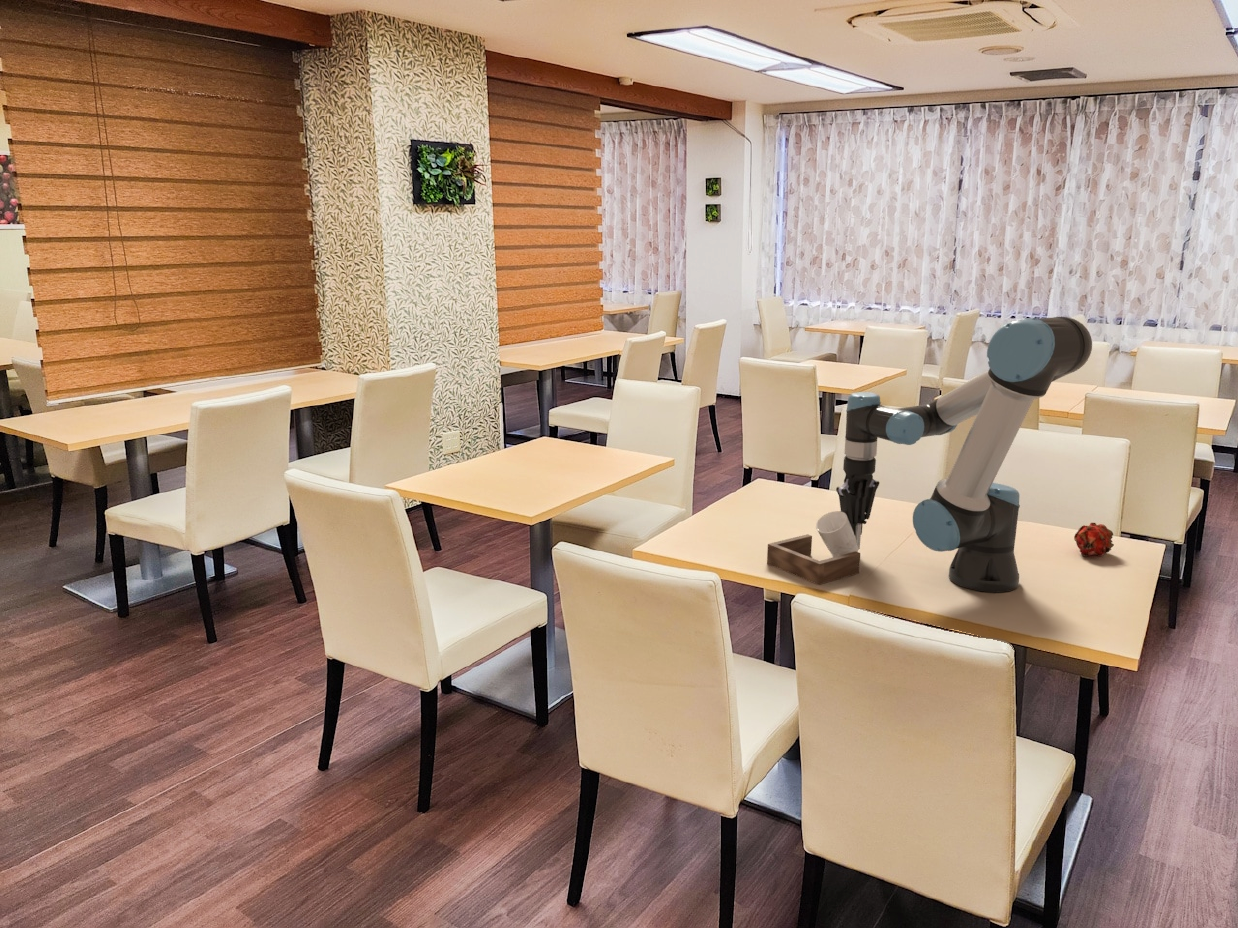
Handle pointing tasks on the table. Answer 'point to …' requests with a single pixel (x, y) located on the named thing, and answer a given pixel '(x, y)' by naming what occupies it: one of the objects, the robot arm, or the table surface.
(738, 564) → the table surface
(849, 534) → the white cup
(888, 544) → the table surface
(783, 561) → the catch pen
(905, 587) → the table surface
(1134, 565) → the table surface
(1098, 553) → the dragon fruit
